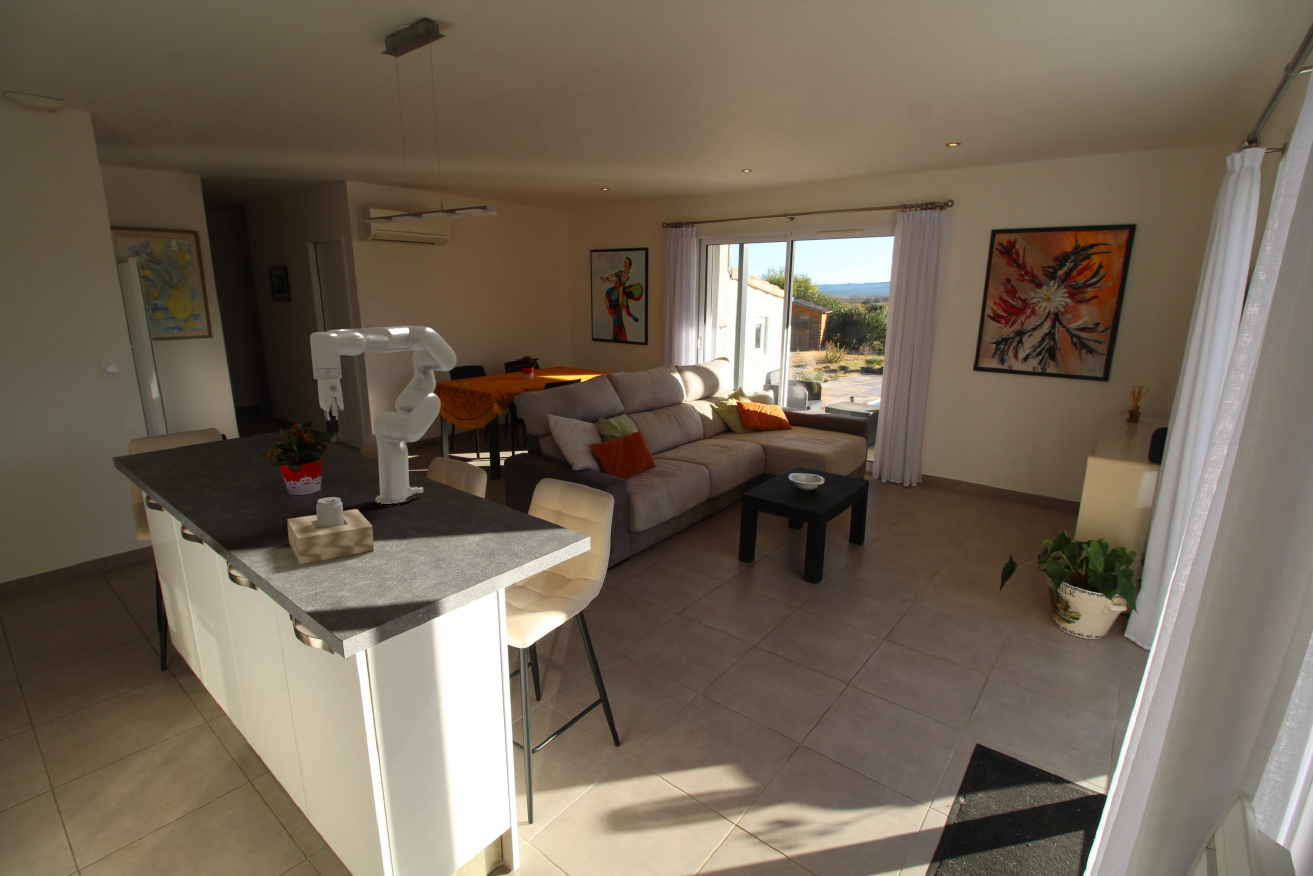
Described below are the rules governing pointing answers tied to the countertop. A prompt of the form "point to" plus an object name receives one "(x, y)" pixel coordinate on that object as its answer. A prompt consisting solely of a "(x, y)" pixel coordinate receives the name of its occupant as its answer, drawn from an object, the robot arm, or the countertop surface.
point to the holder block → (329, 537)
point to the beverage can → (329, 512)
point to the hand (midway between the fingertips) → (332, 432)
